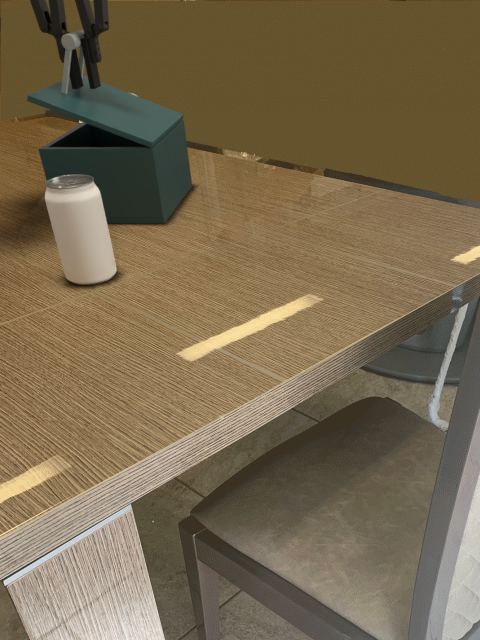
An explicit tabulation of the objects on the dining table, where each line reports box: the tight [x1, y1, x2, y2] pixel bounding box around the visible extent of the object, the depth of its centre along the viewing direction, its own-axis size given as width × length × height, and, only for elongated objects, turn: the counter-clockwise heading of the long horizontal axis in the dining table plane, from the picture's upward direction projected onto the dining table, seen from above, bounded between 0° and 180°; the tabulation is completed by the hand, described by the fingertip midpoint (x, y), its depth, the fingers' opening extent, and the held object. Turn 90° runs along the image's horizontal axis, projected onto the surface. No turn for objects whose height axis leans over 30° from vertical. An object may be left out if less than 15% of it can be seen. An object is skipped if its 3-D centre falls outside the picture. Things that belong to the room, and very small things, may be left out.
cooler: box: [38, 119, 193, 225], centre depth 104 cm, size 17×20×11 cm
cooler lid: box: [26, 29, 185, 148], centre depth 97 cm, size 18×20×9 cm
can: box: [44, 174, 118, 286], centre depth 80 cm, size 6×6×12 cm
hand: (86, 87), depth 97 cm, fingers closed on cooler lid, 2 cm apart
